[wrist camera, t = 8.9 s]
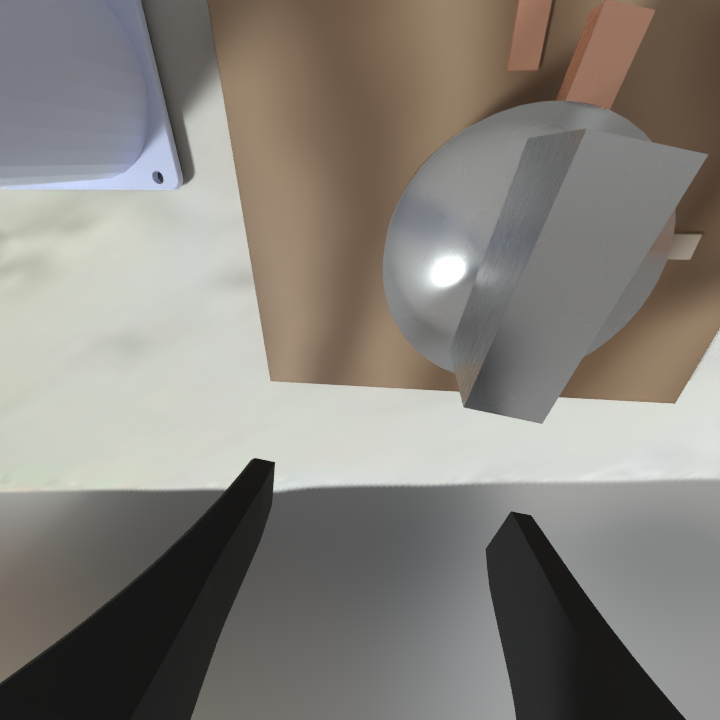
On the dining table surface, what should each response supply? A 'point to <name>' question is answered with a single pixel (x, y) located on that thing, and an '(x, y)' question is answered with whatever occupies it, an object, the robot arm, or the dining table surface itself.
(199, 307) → the dining table surface
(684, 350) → the post board
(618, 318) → the cap
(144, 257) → the dining table surface
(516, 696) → the robot arm
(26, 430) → the dining table surface
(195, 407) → the dining table surface
